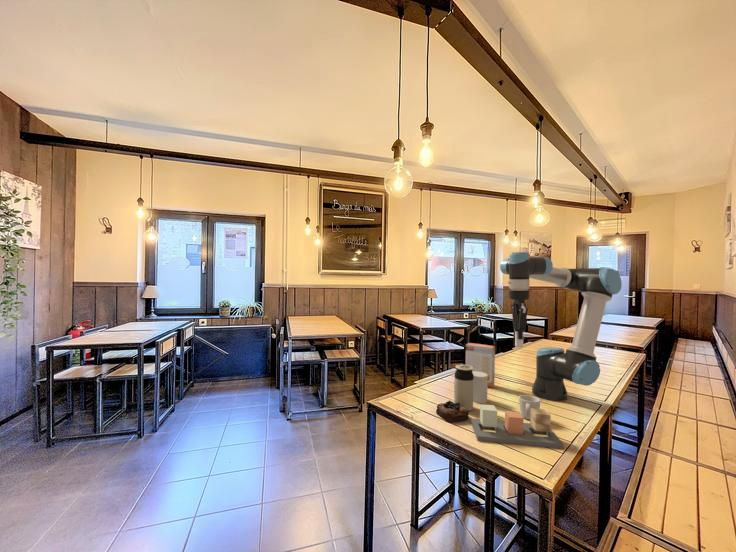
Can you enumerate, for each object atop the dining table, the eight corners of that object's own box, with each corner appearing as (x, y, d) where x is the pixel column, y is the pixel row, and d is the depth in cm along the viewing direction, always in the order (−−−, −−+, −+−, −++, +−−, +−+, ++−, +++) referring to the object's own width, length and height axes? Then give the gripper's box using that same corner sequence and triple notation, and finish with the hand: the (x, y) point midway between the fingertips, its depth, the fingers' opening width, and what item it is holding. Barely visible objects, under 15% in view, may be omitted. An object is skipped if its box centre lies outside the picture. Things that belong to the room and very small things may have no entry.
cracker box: (494, 385, 172) (495, 345, 172) (491, 388, 167) (492, 347, 167) (468, 379, 180) (469, 342, 180) (464, 382, 175) (465, 343, 175)
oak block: (544, 425, 119) (545, 409, 119) (550, 432, 114) (550, 415, 114) (530, 424, 120) (530, 408, 120) (535, 430, 115) (535, 413, 115)
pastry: (449, 424, 126) (449, 409, 126) (432, 412, 137) (432, 398, 137) (472, 420, 130) (472, 406, 130) (454, 409, 141) (454, 395, 141)
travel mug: (476, 407, 142) (476, 366, 142) (467, 413, 136) (468, 370, 136) (459, 402, 147) (460, 363, 147) (450, 407, 141) (451, 366, 141)
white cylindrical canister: (488, 403, 147) (488, 377, 146) (469, 402, 148) (470, 376, 148) (485, 397, 154) (486, 372, 154) (467, 395, 156) (468, 370, 156)
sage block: (493, 421, 122) (494, 405, 122) (496, 427, 117) (497, 410, 117) (479, 420, 123) (480, 404, 123) (482, 426, 118) (482, 409, 118)
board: (547, 428, 123) (547, 424, 123) (563, 448, 110) (563, 443, 110) (470, 422, 128) (471, 418, 128) (477, 440, 114) (477, 436, 114)
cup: (538, 426, 125) (539, 406, 125) (516, 421, 129) (516, 401, 129) (540, 416, 134) (541, 397, 134) (519, 411, 139) (520, 393, 139)
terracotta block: (518, 428, 121) (519, 412, 121) (523, 434, 116) (523, 418, 116) (504, 427, 121) (505, 411, 121) (508, 433, 117) (508, 416, 116)
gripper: (504, 288, 140) (505, 342, 141) (514, 290, 127) (514, 350, 128) (523, 288, 139) (523, 343, 140) (534, 290, 126) (534, 350, 127)
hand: (519, 346), depth 134 cm, fingers closed
